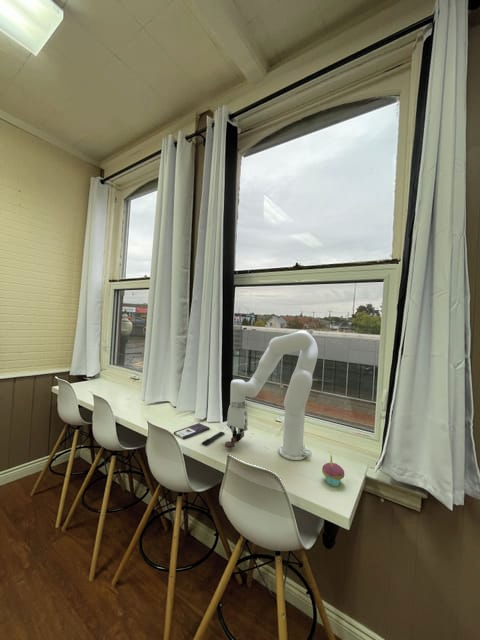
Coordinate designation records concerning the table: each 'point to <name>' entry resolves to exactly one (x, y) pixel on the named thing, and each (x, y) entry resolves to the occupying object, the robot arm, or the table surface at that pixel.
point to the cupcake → (333, 473)
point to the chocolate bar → (191, 430)
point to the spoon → (233, 441)
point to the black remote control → (212, 438)
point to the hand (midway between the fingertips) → (236, 439)
